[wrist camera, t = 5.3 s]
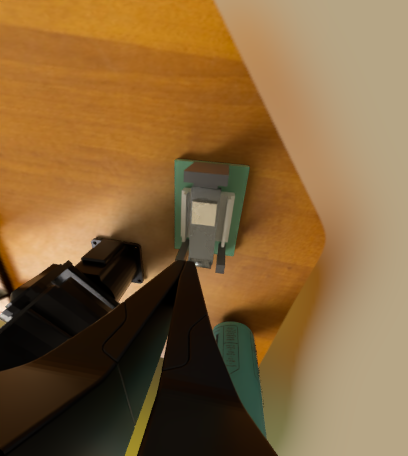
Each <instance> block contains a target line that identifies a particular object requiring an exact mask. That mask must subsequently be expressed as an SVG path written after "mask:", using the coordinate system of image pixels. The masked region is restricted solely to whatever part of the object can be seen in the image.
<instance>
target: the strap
mask: <svg viewBox="0 0 408 456" xmlns="http://www.w3.org/2000/svg"><path fill="white" fill-rule="evenodd" d="M221 189H222V188H219V187H218V188H217V189H214V188H204V187H195V186H193V185H192V187H191V211H190V235H189V259H188V261H194V262H195V265H196V267H202V268H209V269H211V265H212V263H213V255H214V247H215V238H216V230H217V222H218V214H219V206H220V197H221Z"/></svg>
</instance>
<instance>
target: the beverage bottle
mask: <svg viewBox="0 0 408 456" xmlns="http://www.w3.org/2000/svg"><path fill="white" fill-rule="evenodd" d="M213 334H214V337H215V340H216V342H217V345H218V348H219V350H220V353H221V355H222V358H223V360H224V363H225V365H226V367H227V370H228V372H229V375H230V377H231V380H232V382H233V385H234V387H235V389H236V392H237V394H238V396H239V398H240V400H241V402H242V404H243V406H244V407H245V409H246V411H247V412H248V414H249V415H250V416H251V418H252V419H253V421H254V422H255V424H256V425H257V426H258V428H259V429H260V431H261V432H262V434H263V435H264V436H265V438H266V430H265V422H264V415H263V406H262V396H261V386H260V380H259V372H258V371H259V370H258V369H259V368H258V365H257V364H258V362H257V358H256V355H257V354H256V353H257V351H256V350H255V349H256V348H255V346H256V345H255V343H254V335H253V334H252V332H251V330H250V329H249V328H248V327H247V326H246V325H244V324H242V323H238V322H232V321H229V322H222V323H220V324H218V325H216V326H215V327H214V329H213ZM257 357H258V356H257Z"/></svg>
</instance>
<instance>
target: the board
mask: <svg viewBox="0 0 408 456" xmlns="http://www.w3.org/2000/svg"><path fill="white" fill-rule="evenodd" d="M249 169H250V167H249V165H240V164H230V163H219V162H209V161H199V160H188V159H176V160H175V249H179V252H178V254H177V256H176V259H175V261H176V260H178V259H180V260H185V261H186V259H187V256H188V253H189V235H190V211H191V187H192V185H193V186H195V187H204V188H214V189H217V188H218V187H219V188H222V189H221V197H220V206H219V214H218V222H217V230H216V238H215V247H214V254H217V262H216V272H215V273H222V274H224V268H225V255H227V256H234V250H235V245H236V239H237V234H238V229H239V223H240V218H241V212H242V207H243V202H244V196H245V191H246V185H247V180H248V175H249Z"/></svg>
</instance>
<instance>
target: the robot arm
mask: <svg viewBox="0 0 408 456" xmlns="http://www.w3.org/2000/svg"><path fill="white" fill-rule="evenodd" d="M91 244H92V249H91V250H90V251H89V252H88V253H86V254H85V255H84V256H83V257H82V258H81V260H82V261H80V262H79V263H78V264H77V265H76V266H75V267H74V266H73V265H72V263H71V262H70V261H69V260H68V261H67V262H66V263H64V264H63V265H61V264H60V265H57V264H52V265H51V266H50V267H48V268H47V269H46V270H44V271H43V272H42V273H40V274H39V275H37V276H36V277H34V278H33V279H31V280H29V281H28V282H26V283H25V284H23V285H22V286H20V287H18V288H17V289H16V290H14V291H13V292H12V293H11V298H10V303H9V304H8V305H7V306H6V308H7V309H6V310H5V311H3V312H2V313H1V314H0V319H1V320H3V321H4V322H6V324H4V325H3V326H2V327H1V328H0V456H125V453H126V450H127V447H128V445H129V442H130V439H131V436H132V434H133V431H134V426H135V425H136V422H137V420H138V417H139V414H140V411H141V409H142V406H143V403H144V400H145V398H146V395H147V392H148V389H149V387H150V384H151V381H152V378H153V375H154V373H155V370H156V367H157V364H158V362H159V359H160V356H161V353H162V351H163V348H164V345H165V342H166V340H167V345H166V350H165V355H164V361H163V366H162V373H161V377H160V382H159V386H158V390H157V395H156V398H155V401H154V404H153V407H152V410H151V414H150V417H149V420H148V423H147V426H146V429H145V433H144V435H143V439H142V442H141V445H140V448H139V451H138V454H137V456H278V455H277V454H276V452H275V451H274V449H273V448H272V446H271V445H270V444H269V442H268V441H267V439H266V438H265V436H264V435H263V434H262V432H261V431H260V429H259V428H258V426H257V425H256V424H255V422H254V421H253V419H252V418H251V416H250V415H249V414H248V412H247V411H246V409H245V407H244V406H243V404H242V402H241V400H240V398H239V396H238V394H237V392H236V389H235V387H234V385H233V382H232V380H231V377H230V375H229V372H228V370H227V367H226V365H225V363H224V360H223V358H222V355H221V353H220V350H219V348H218V345H217V342H216V340H215V337H214V334H213V330H212V327H211V324H210V320H209V316H208V312H207V308H206V305H205V301H204V297H203V293H202V289H201V285H200V281H199V277H198V273H197V269H196V265H195V262H194V261H185V260H180V259H178V260H176V261H175V262H174V263H172V264H171V265H170V266H169V267H167V268H166V269H165V270H163V271H162V272H161V273H160V274H158V275H157V276H156V277H154V278H153V279H152V280H151V281H149V282H148V283H147V284H145V285H144V286H143V287H142V288H140V289H139V290H138V291H136V292H135V293H134V294H133V295H131V296H130V297H129V298H127V299H126V300H125V302H122V303H121V304H120V303H119V300H120V299H121V297H122V296H123V294H124V293H125V291H126V290H127V288H128V287H129V285H130V283H131V282H134V283H143V281H144V274H143V265H142V255H141V247H140V245H139V244H136V243H128V242H122V241H116V240H108V239H98V238H94V239H93V240H92V241H91ZM135 247H137V248H135ZM167 337H168V339H167Z"/></svg>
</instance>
